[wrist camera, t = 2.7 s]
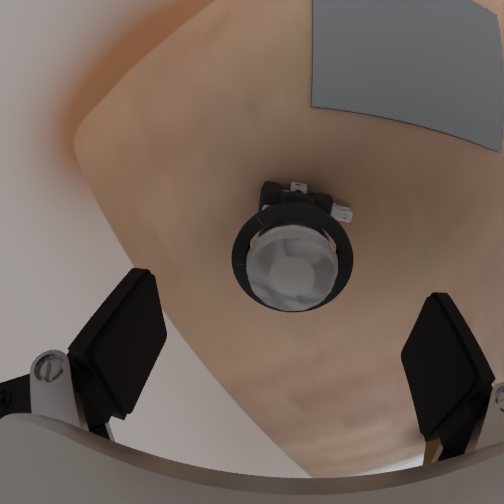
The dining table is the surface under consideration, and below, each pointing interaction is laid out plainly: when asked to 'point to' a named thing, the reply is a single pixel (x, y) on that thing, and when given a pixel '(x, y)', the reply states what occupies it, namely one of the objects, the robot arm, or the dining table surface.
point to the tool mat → (412, 64)
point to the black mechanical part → (293, 250)
